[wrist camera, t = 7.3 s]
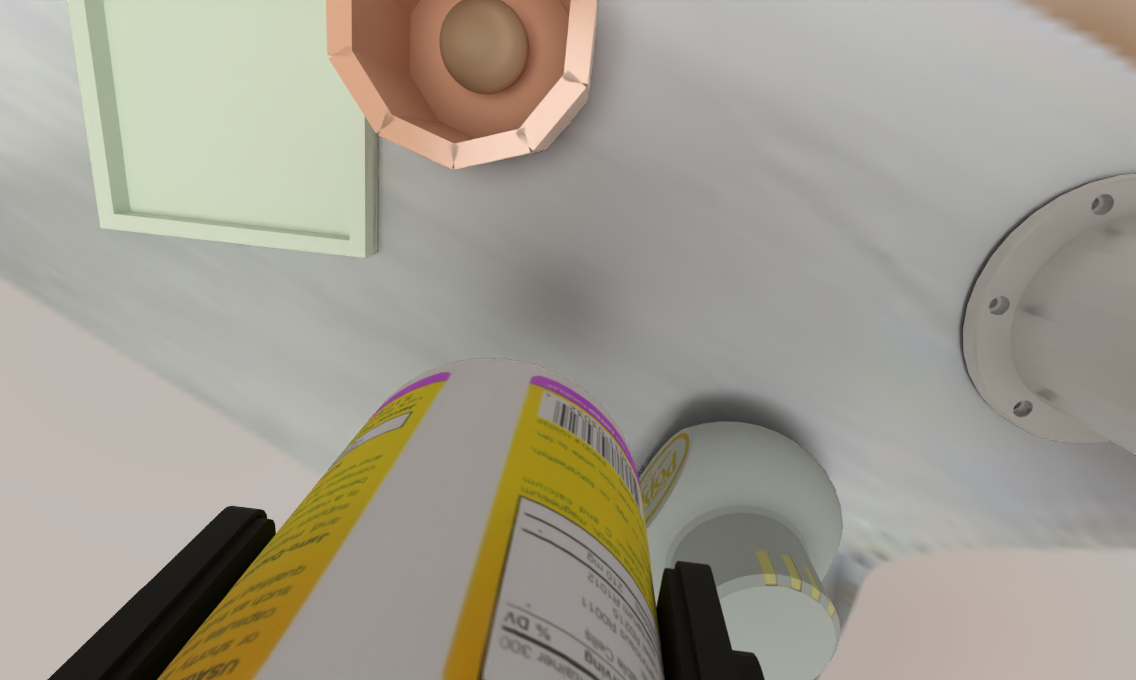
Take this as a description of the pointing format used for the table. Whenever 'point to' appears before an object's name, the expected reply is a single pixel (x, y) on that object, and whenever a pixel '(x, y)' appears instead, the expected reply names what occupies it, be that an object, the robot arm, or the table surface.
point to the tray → (224, 124)
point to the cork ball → (484, 45)
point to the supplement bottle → (454, 547)
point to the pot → (440, 104)
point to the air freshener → (751, 537)
